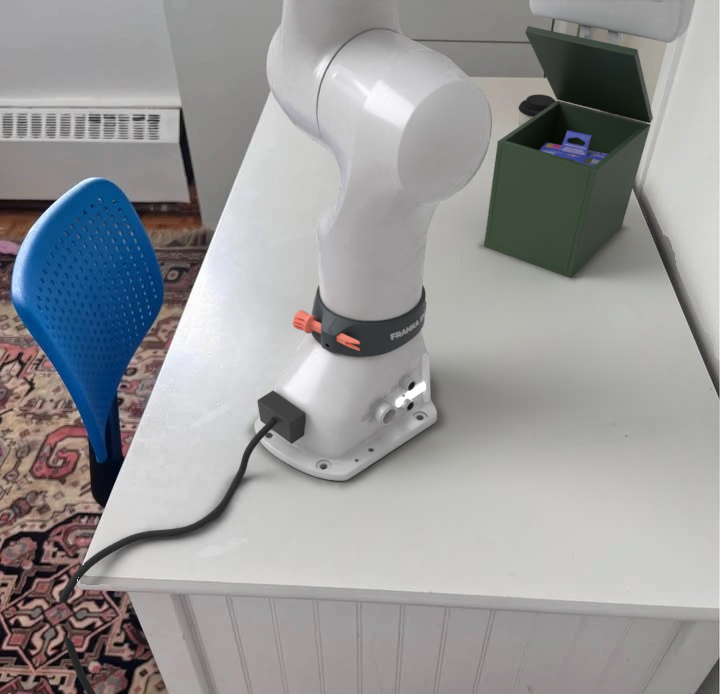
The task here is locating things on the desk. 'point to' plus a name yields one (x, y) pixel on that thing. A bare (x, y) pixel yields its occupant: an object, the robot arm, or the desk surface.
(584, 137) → the ink cartridge box
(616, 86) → the bin lid
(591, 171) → the bin
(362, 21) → the robot arm
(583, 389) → the desk surface
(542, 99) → the black capped white jar
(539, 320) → the desk surface
